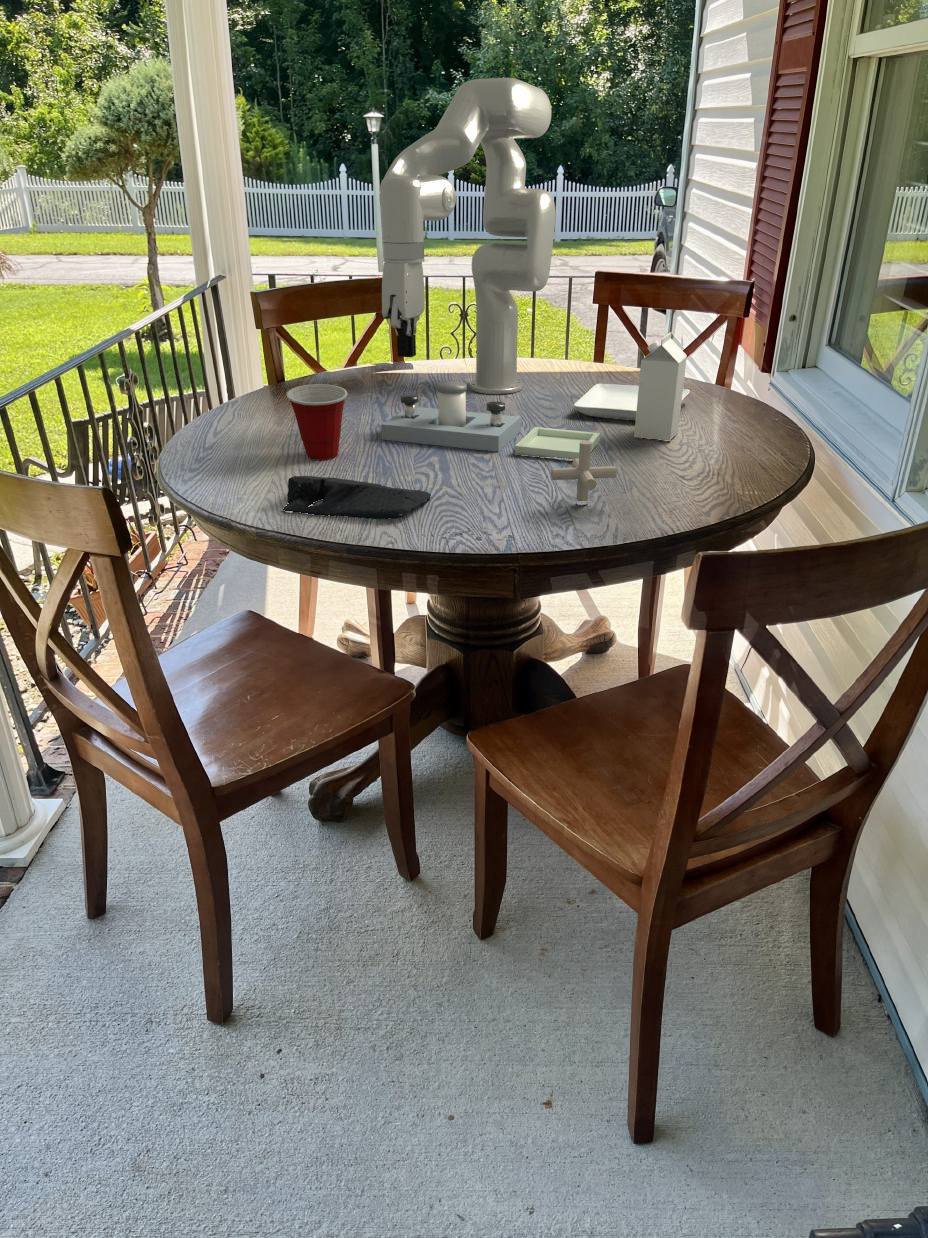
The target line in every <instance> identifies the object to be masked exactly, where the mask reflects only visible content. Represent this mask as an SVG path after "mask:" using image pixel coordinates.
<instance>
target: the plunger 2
mask: <svg viewBox="0 0 928 1238" xmlns="http://www.w3.org/2000/svg"><path fill="white" fill-rule="evenodd" d="M485 406H486V407H485V408H486V409H485V410H487V411H489V414H490V426H491V427H501V415H502V412H503V411H505V410H506V403H505V402H503V401H489V402H487V403H486V405H485Z"/></svg>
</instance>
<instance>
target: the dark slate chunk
mask: <svg viewBox="0 0 928 1238" xmlns="http://www.w3.org/2000/svg"><path fill="white" fill-rule="evenodd" d="M287 481H288V482H287V495H286V496H287V500H286V505H287V506H284V509H283V508H282V509H283V510H285V511H293V512H294V513H295V512H301V513H300V514H302V513H308V514H314V515H325V516H324V517H330V516H336V517H344V516H348V517H347V518H357V517H358V518H357V519H372V520H389V519H388V518H391V519H392V520H395V519H396V520H397V519H401V518H403V517H405V516H407V515H408V514H410V513H412V512H413V511H414V510H416V509H418V508H419V507H422V506H424V505H425V504H426V503H427V502H429V501H430V500H431V496H432V494H431V493H430V492H428V491H425V490H422V489H421V490H420V489H408V488H407V489H406V488H399V487H392V486H385V485H382V484H379V483H373V482H372V483H371V482H367V481H360V480H353V479H346V478H339V477H331V476H330V477H326V476H325V477H324V476H313V475H312V476H311V475H294V476H291V477H289V478H288V480H287ZM321 499H323V500H321ZM318 500H320V501H321V503H320V504H316V505H315V504H314V505H313V506H310V507H308V506H309V505H311V504H313V502H316V501H318ZM287 502H288V503H289V504H287ZM318 502H319V501H318ZM314 515H313V516H314ZM328 515H330V516H328Z"/></svg>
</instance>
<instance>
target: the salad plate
mask: <svg viewBox="0 0 928 1238" xmlns="http://www.w3.org/2000/svg"><path fill="white" fill-rule="evenodd" d="M638 389H639V385H629V384H614V383H597V384H594V385H593V386H592V387H591V388H590V389H589V390H588V391H587V392H586V393H584V395H583V396H581V397H580V398H579V399H578V400H577V401H575V403H574V404H573V407H574V409H575V410H576V411H577V412H579V413H581V414H584V416H589V417H593V416H594V417H593V418H599V417H606V418H605V419H609V418H617V419H616V420H619V419H628V420H627V421H629V420H636V411H637V400H638ZM690 392H691V391H690V389H684V388H683V393H682V402H683V401H684V400H685V399H686V398H687V396H688V395H689V394H690Z"/></svg>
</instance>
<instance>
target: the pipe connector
mask: <svg viewBox="0 0 928 1238" xmlns="http://www.w3.org/2000/svg"><path fill="white" fill-rule="evenodd" d="M591 447H592V442H590V441H581V442H580V447H579V458H577V459H574V460H573V462H571V467H560V468H559V467H557V468H556V467H555V468H553V467H552V468H551V470H550V471H551V472H550V477H551V480H552V481H562V480H563V481H565V480H566V481H567V480H577V481H576V483H577V484H576V499H577V500H578V501H587V500H588V501H589V491H594V490H595V489H596V487H597V481H596V479H616V477H617V474H618V473H617V467H616V465H615V466H614V465H613V466H612V465H610V466H607V465H606V466H591V461H592V460H591V459H592V456H591V455H592V453H591ZM576 499H575V500H576Z"/></svg>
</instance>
